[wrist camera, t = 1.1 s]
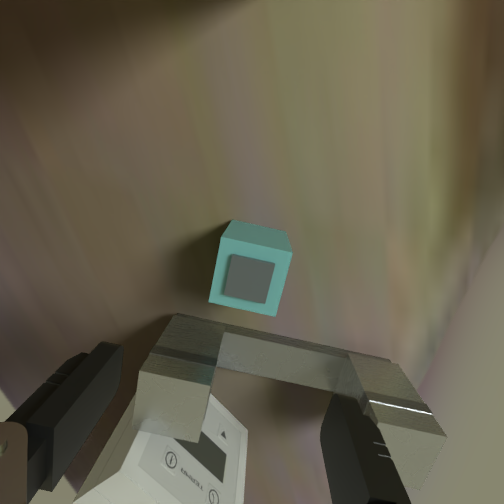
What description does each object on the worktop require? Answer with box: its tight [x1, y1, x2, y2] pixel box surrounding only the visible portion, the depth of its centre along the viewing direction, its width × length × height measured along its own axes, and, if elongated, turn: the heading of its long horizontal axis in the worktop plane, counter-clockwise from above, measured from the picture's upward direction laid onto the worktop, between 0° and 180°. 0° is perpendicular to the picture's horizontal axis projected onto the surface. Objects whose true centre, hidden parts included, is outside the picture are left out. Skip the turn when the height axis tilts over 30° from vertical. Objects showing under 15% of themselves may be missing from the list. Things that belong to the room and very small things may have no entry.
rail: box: [132, 313, 447, 490], centre depth 26 cm, size 5×22×10 cm, turn 78°
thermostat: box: [73, 393, 248, 504], centre depth 26 cm, size 12×14×15 cm
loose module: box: [209, 220, 293, 317], centre depth 24 cm, size 5×5×7 cm
